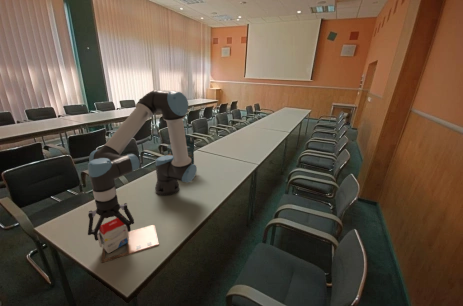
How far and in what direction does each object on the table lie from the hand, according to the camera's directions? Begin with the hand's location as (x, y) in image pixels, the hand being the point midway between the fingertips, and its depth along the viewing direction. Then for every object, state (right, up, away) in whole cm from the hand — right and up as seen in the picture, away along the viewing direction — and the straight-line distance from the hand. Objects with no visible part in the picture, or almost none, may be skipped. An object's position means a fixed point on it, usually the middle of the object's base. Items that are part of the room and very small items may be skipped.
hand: (115, 241), depth 89 cm
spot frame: (0, -3, +1) cm, 3 cm away
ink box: (0, -2, +1) cm, 3 cm away
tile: (+10, -1, +6) cm, 11 cm away
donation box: (+10, +24, +75) cm, 79 cm away
